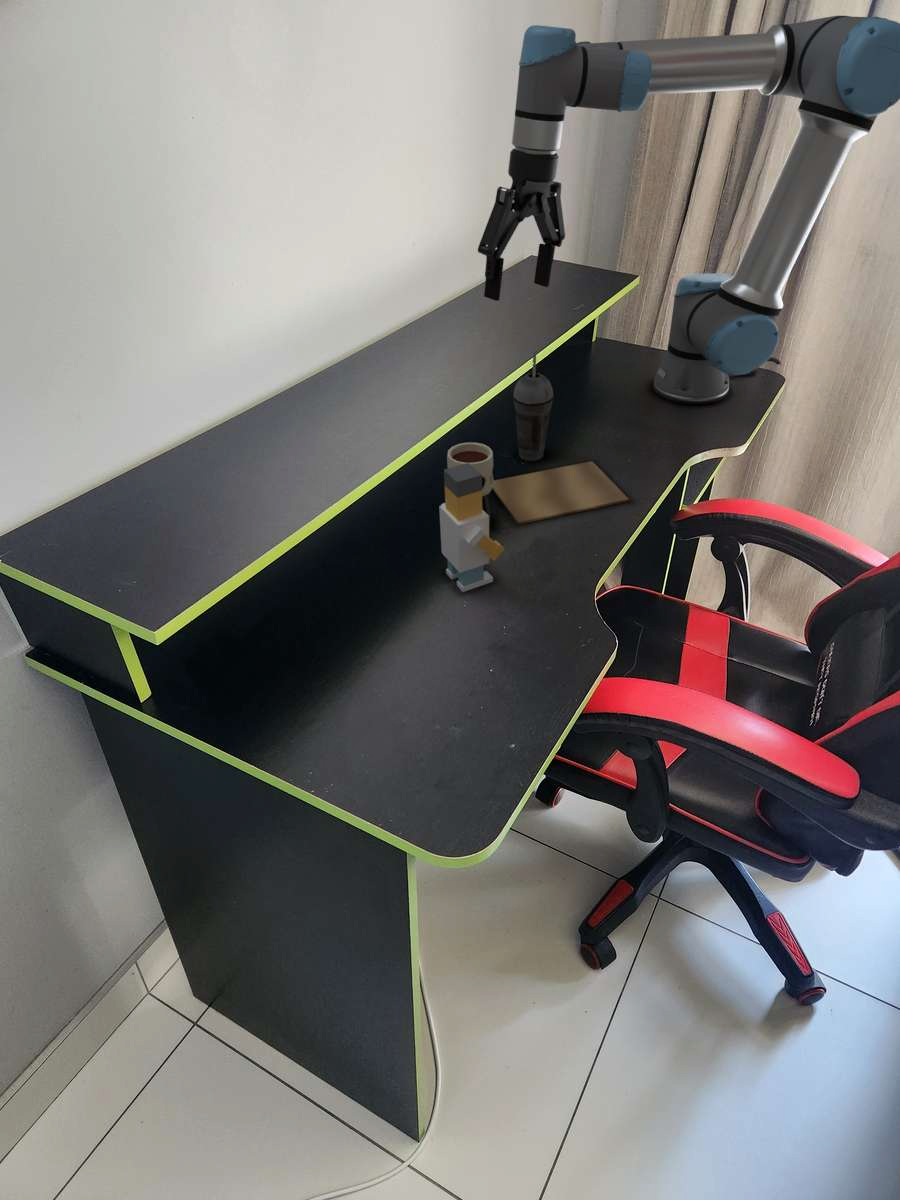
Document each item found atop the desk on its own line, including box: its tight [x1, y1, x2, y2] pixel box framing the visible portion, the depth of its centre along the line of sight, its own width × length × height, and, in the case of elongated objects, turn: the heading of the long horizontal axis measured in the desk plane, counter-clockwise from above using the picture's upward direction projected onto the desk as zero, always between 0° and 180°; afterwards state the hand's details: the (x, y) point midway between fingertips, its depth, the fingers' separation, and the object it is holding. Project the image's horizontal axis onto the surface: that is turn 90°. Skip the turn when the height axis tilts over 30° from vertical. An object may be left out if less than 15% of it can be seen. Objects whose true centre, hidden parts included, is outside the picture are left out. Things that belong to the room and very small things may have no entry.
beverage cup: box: [512, 351, 555, 462], centre depth 139 cm, size 7×7×20 cm
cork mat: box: [491, 460, 630, 526], centre depth 134 cm, size 20×14×1 cm
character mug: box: [446, 442, 494, 525], centre depth 123 cm, size 11×7×13 cm, turn 141°
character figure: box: [438, 463, 506, 593], centre depth 110 cm, size 8×10×18 cm
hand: (517, 291), depth 133 cm, fingers open, 13 cm apart
